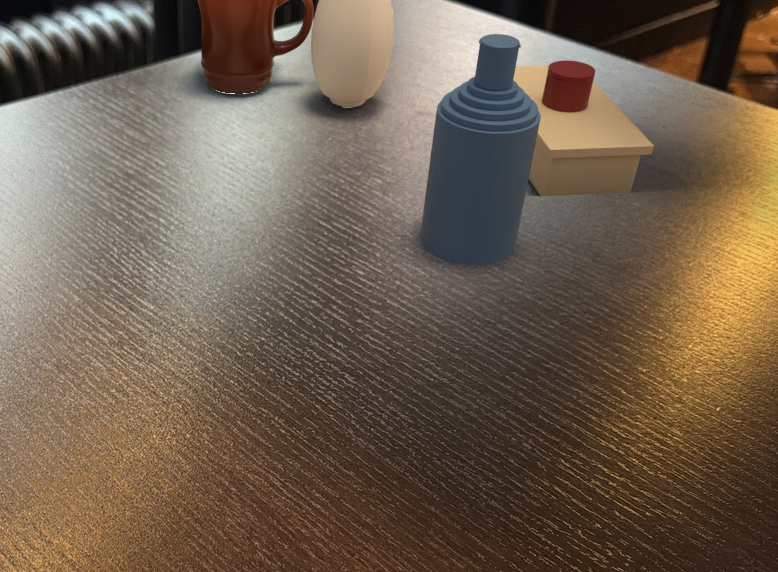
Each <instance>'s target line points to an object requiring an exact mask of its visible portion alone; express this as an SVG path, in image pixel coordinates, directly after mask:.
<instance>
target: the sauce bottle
mask: <svg viewBox="0 0 778 572" xmlns="http://www.w3.org/2000/svg"><path fill="white" fill-rule="evenodd" d="M392 4H393V3H392V0H318V3H317V5H316V9H315V12H314V16H313V22H312V27H311V35H310V36H311V37H310V55H311V64H312V71H313V73H314V78H315V80H316V83H317V86H318V88H319V89H320V91H321V93H322V94H323V96H325V97H326V98H328V99H329V101H330V102H331V103H332V104H334V105H336V106H338V107H339V106H344V107H355V108H356V107H360V106H362V105H364V103H365V102H366V101H367V100H369V99H371V98H372V97H373V96H375V94H376V93H377V91H378V90H379V88H380V86H381V85H382V83H383V81H384V80H385V78H386V75H387V72H388V70H389V66H390V62H391V58H392V53H393V46H394V36H395V35H394V33H395V28H394V27H395V23H394V21H395V20H394V11H393V5H392Z"/></svg>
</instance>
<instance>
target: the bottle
mask: <svg viewBox="0 0 778 572" xmlns="http://www.w3.org/2000/svg"><path fill="white" fill-rule="evenodd" d="M478 44H479V48H478V52H477V53H478V54H477V60H476V67H475V73H474V76H472V77H470V78H469V79H468V80H467V81H464V82H463V83H462V84H460V85H459V86H457V87H454V89H453V90H452V91H449V92H447V93H446V94H445V95H444V96H443V97H442V99H441V100H440V102H438V104H437V106H436V112H435V120H434V128H433V134H432V142H431V150H430V156H429V157H430V158H429V166H428V173H427V179H426V180H427V182H426V187H425V195H424V203H423V211H422V219H421V226H420V233H419V237H420V242H421V244H422V246H423V247H424V248H425V250H427V251H428V252H430V253H431V254H433V255H434V256H436V257H438V258H441V259H443V260H446V261H449V262H452V263H457V264H461V265H471V266H474V265H475V266H476V265H478V266H479V265H488V264H495V263H498V262H500V261H503V260H505V259H507V258H508V257H509V256H511V255H512V254H513V252H514V251H515V248H516V244H517V240H518V239H517V238H518V234H519V228H520V224H521V219H522V213H523V208H524V204H525V198H526V193H527V187H528V183H529V174H530V169H531V164H532V159H533V154H534V149H535V144H536V139H537V134H538V129H539V124H540V119H541V115H540V112H539V111H538V107H537V105H536V103H535V102H534V101H533V100H532V99H531V98H530V97H529V96H528V95H527V94H526V93H525V92H524V90H523V89H522V88H521V87H519V86H518V84H517V83H516V82H515V81H514V80H513V79H514V73H515V68H516V67H517V61H518V56H519V50H520V49H521V47H522V45H521V42H520V40H519V39H518V38H517V37H514V36H512V35H508V34H503V33H492V34H491V33H490V34H486V35H483V36H482V37H480V38H479V39H478Z"/></svg>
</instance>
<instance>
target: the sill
mask: <svg viewBox="0 0 778 572" xmlns="http://www.w3.org/2000/svg"><path fill="white" fill-rule="evenodd" d="M548 67H549V65H524V66H523V65H522V66H521V65H520V66H519V65H518V66H516V68H515V73H514V79H513V80H514V81H515V82H516V83H517V84H518V86H519V87H521V88H522V89H523V90H524V92H525V93H526V94H527V95H528V96H529V97H530V98H531V99H532V100H533V101H534V102H535V103H536V105H537V107H538V111H539V112H540V115H541V119H540V124H539V129H538V134H537V139H536V144H535V149H534V154H533V159H532V164H531V169H530V174H529V179H528V181H529V182H530V183H531V184H532V186H533V187H534V189H535V191H536V192H537V193H538V195H539V197H554V196H556V197H557V196H577V195H578V196H579V195H600V194H602V195H603V194H626V193H631V192H632V190H633V189H632V188H633V185H634V181H635V177H636V174H637V171H638V167H639V164H640V160H641V156H646V155H647V156H648V155H649V156H651V155H653V151H654V147H655V145H654V144H653V143H652V142H651V141H650V139H649V138H647V137H646V135H645V134H643V132H642V131H641V129H639V128H638V127H637V126H636V125H635V124H634V122H633V121H631V119H630V118H629V117H628V116H626V114H625V113H624V112H623V111H622V110H621V109H620V108H619V107H618V106H617V104H615V102H614V101H613V100H611V98H610V97H609V96H608V95H607V94H606V93H605V92H604V90H603V89H601V88H600V86H599V85H598V84H597V83H595V81H594V80H593V84H592V89H591V93H590V97H589V102H588V106H587V108H586V109H584V110H582V111H578V112H561V111H556V110H553V109H550V108H548V107H546V106H545V105H544V104H543V103H542V97H543V92H544V87H545V82H546V77H547V72H548Z"/></svg>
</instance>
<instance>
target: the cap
mask: <svg viewBox="0 0 778 572" xmlns="http://www.w3.org/2000/svg"><path fill="white" fill-rule="evenodd" d="M548 66H549V67H548V72H547V77H546V82H545V87H544V92H543V97H542V103H543V104H544V105H545V106H546V107H548V108H550V109H553V110H556V111H561V112H578V111H582V110H584V109H586V108H587V106H588V102H589V97H590V93H591V89H592V84H593V81H594V80H595V75H596V69H595V68H594V67H593V66H592V65H591V64H588V63H585V62H582V61H576V60H566V59H565V60H557V61H553V62H551V63H550V64H548Z"/></svg>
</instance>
